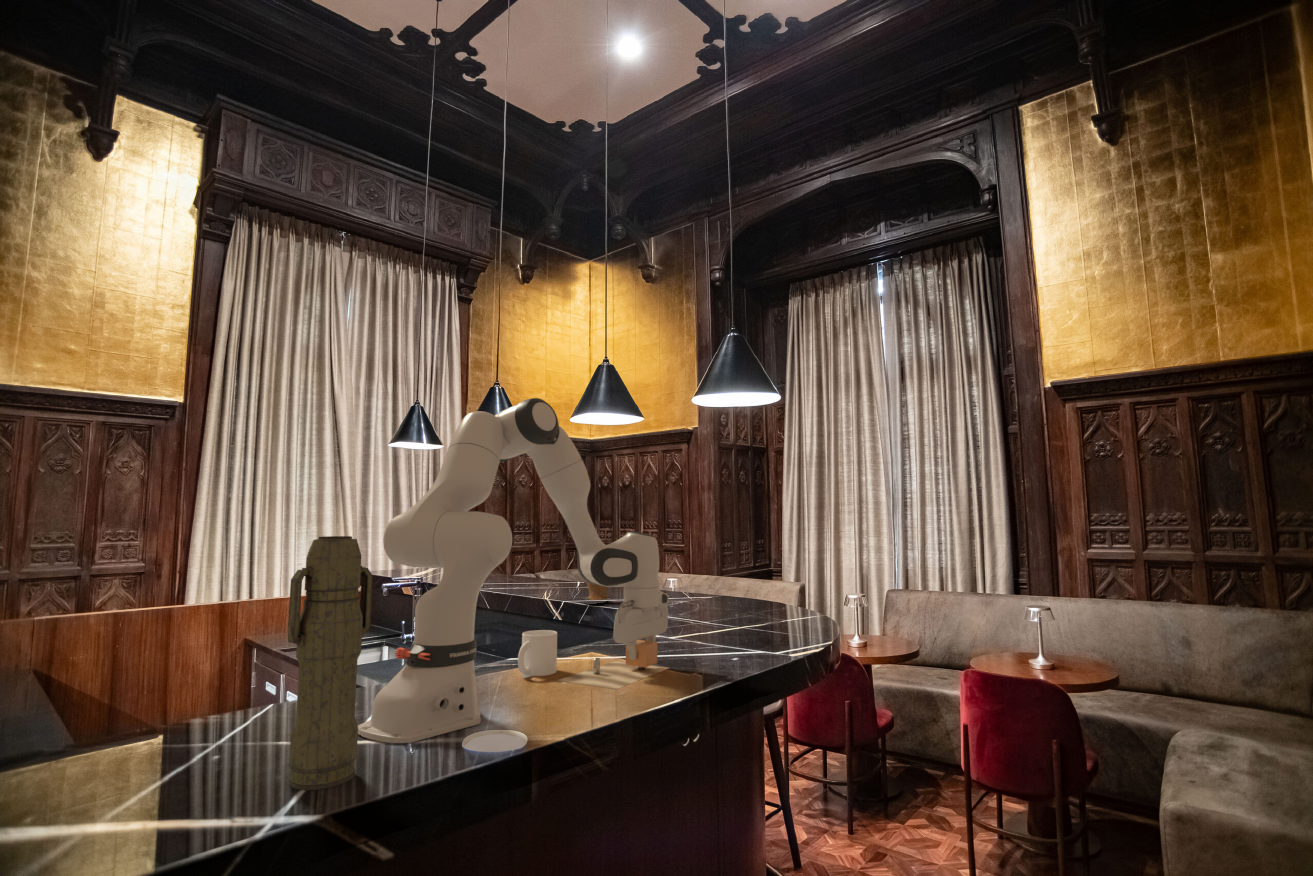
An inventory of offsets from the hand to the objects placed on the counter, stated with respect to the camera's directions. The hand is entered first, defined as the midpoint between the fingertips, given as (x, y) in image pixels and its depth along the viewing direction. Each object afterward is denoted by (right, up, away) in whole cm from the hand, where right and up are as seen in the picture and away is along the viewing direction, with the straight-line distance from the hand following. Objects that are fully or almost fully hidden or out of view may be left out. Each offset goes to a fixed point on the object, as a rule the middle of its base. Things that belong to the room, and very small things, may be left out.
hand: (641, 656), depth 164 cm
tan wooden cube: (0, -2, 0) cm, 2 cm away
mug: (-25, -4, -5) cm, 26 cm away
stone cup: (-23, -20, +133) cm, 137 cm away
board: (-6, -4, -5) cm, 9 cm away
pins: (-5, -3, -3) cm, 6 cm away
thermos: (-45, +3, -65) cm, 79 cm away
